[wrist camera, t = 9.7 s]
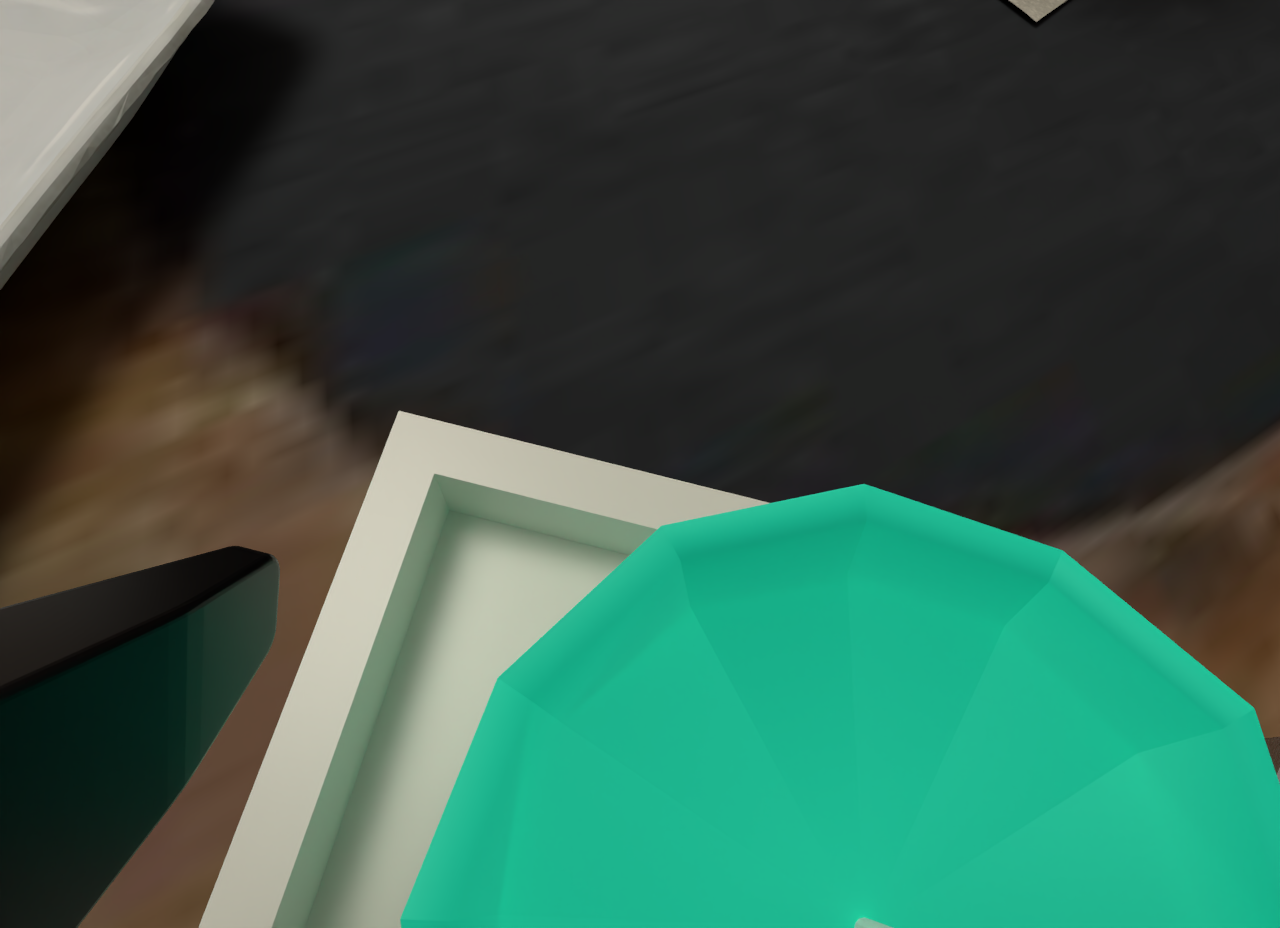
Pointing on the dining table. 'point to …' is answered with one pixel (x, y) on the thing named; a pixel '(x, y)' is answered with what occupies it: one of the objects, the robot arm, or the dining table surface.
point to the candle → (856, 744)
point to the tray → (423, 659)
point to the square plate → (72, 97)
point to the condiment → (1037, 7)
